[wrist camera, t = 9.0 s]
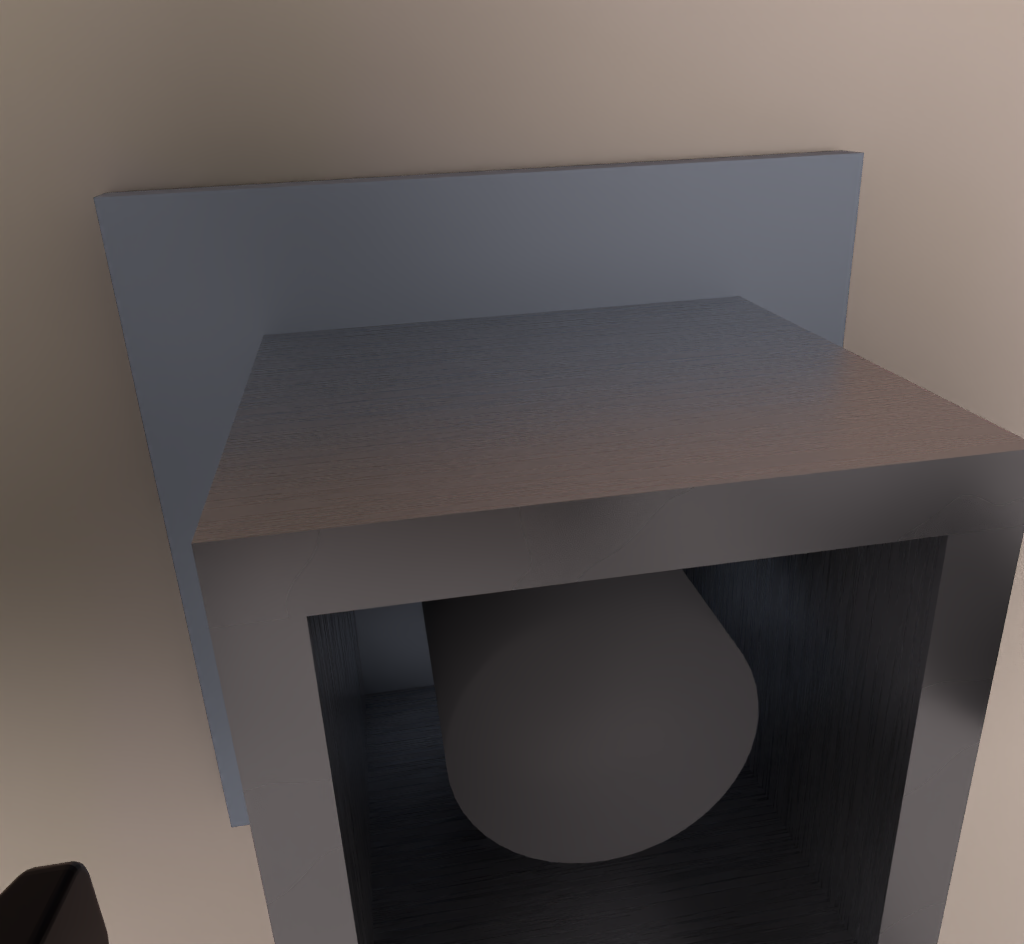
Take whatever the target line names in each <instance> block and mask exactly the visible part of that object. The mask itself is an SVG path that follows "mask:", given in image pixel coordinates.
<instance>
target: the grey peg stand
mask: <svg viewBox="0 0 1024 944" xmlns="http://www.w3.org/2000/svg"><path fill="white" fill-rule="evenodd" d="M863 157H864V153H861V152H851V151H842V150H841V151H824V152H807V153H789V154H772V155H754V156H737V157H720V158H702V159H685V160H667V161H650V162H633V163H615V164H598V165H580V166H563V167H546V168H528V169H511V170H493V171H476V172H459V173H441V174H424V175H406V176H389V177H372V178H354V179H337V180H319V181H302V182H285V183H267V184H250V185H232V186H215V187H198V188H180V189H163V190H145V191H128V192H111V193H104V194H101V195H99V196H96V197H94V202H95V207H96V212H97V216H98V221H99V225H100V230H101V234H102V239H103V243H104V248H105V253H106V257H107V262H108V266H109V271H110V275H111V280H112V285H113V289H114V294H115V298H116V303H117V307H118V312H119V316H120V321H121V326H122V330H123V335H124V339H125V344H126V348H127V353H128V357H129V362H130V367H131V371H132V376H133V380H134V385H135V389H136V394H137V398H138V403H139V408H140V412H141V417H142V421H143V426H144V430H145V435H146V439H147V444H148V449H149V453H150V458H151V462H152V467H153V471H154V476H155V481H156V485H157V490H158V494H159V499H160V503H161V508H162V512H163V517H164V522H165V526H166V531H167V535H168V540H169V544H170V549H171V553H172V558H173V563H174V567H175V572H176V576H177V581H178V585H179V590H180V594H181V599H182V604H183V608H184V613H185V617H186V622H187V626H188V631H189V635H190V640H191V645H192V649H193V654H194V658H195V663H196V667H197V672H198V677H199V681H200V686H201V690H202V695H203V699H204V704H205V708H206V713H207V718H208V722H209V727H210V731H211V736H212V740H213V745H214V749H215V754H216V759H217V763H218V768H219V772H220V777H221V781H222V786H223V790H224V795H225V800H226V804H227V809H228V813H229V818H230V822H231V827H237V826H243V825H249V824H250V822H249V817H248V813H247V808H246V803H245V798H244V794H243V789H242V784H241V779H240V774H239V770H238V765H237V760H236V755H235V751H234V746H233V741H232V736H231V731H230V727H229V722H228V717H227V712H226V708H225V703H224V698H223V693H222V688H221V684H220V679H219V674H218V669H217V665H216V660H215V655H214V650H213V645H212V641H211V636H210V631H209V626H208V622H207V617H206V612H205V607H204V602H203V598H202V593H201V588H200V583H199V579H198V574H197V569H196V564H195V559H194V555H193V550H192V545H191V543H192V540H193V537H194V534H195V531H196V528H197V525H198V523H199V520H200V517H201V514H202V511H203V508H204V505H205V502H206V499H207V497H208V494H209V491H210V488H211V485H212V482H213V479H214V476H215V474H216V471H217V468H218V465H219V462H220V459H221V456H222V453H223V450H224V448H225V445H226V442H227V439H228V436H229V433H230V430H231V427H232V424H233V422H234V419H235V416H236V413H237V410H238V407H239V404H240V401H241V398H242V396H243V393H244V390H245V387H246V384H247V381H248V378H249V375H250V373H251V370H252V367H253V364H254V361H255V358H256V355H257V352H258V349H259V347H260V344H261V341H262V338H263V335H270V334H282V333H294V332H306V331H319V330H331V329H343V328H355V327H367V326H380V325H392V324H404V323H416V322H429V321H441V320H453V319H465V318H477V317H490V316H502V315H514V314H526V313H539V312H551V311H563V310H575V309H587V308H600V307H612V306H624V305H636V304H649V303H661V302H673V301H685V300H697V299H710V298H722V297H734V296H740V297H742V298H744V299H746V300H748V301H750V302H752V303H754V304H756V305H758V306H760V307H762V308H764V309H766V310H768V311H770V312H772V313H774V314H776V315H778V316H780V317H782V318H784V319H786V320H788V321H790V322H792V323H794V324H796V325H798V326H800V327H802V328H804V329H806V330H808V331H810V332H812V333H814V334H816V335H818V336H820V337H822V338H824V339H826V340H828V341H830V342H832V343H834V344H836V345H838V346H840V347H842V348H843V340H844V330H845V321H846V312H847V303H848V294H849V285H850V276H851V267H852V258H853V248H854V239H855V230H856V221H857V212H858V203H859V194H860V185H861V176H862V166H863ZM354 612H355V619H356V627H357V635H358V642H359V650H360V657H361V665H362V673H363V680H364V688H365V695H366V694H373V693H380V692H387V691H395V690H402V689H409V688H416V687H423V686H430V685H434V687H435V694H436V700H437V707H438V714H439V720H440V727H441V733H442V740H443V747H444V753H445V760H446V766H447V772H448V778H449V783H450V786H451V788H452V791H453V794H454V797H455V799H456V801H457V802H458V804H459V806H460V808H461V809H462V811H463V813H464V814H465V815H466V816H467V818H468V819H469V820H470V821H471V823H472V824H473V825H474V826H475V827H476V828H478V829H479V830H480V831H481V832H482V833H483V834H484V835H485V836H487V837H488V838H490V839H491V840H493V841H494V842H496V843H497V844H499V845H501V846H503V847H505V848H507V849H509V850H511V851H513V852H515V853H518V854H521V855H524V856H527V857H530V858H534V859H539V860H544V861H549V862H560V863H590V862H598V861H606V860H611V859H615V858H620V857H624V856H628V855H631V854H634V853H637V852H640V851H643V850H645V849H648V848H650V847H652V846H655V845H657V844H659V843H662V842H663V841H665V840H667V839H669V838H671V837H673V836H674V835H676V834H678V833H680V832H681V831H683V830H684V829H686V828H687V827H688V826H690V825H691V824H693V823H694V822H696V821H697V820H698V819H699V818H700V817H702V816H703V815H704V814H705V813H706V812H708V811H709V810H710V809H711V808H712V807H713V806H714V805H715V804H716V803H717V802H718V801H719V800H720V799H721V798H722V796H723V795H724V794H725V793H726V791H727V790H728V789H729V788H730V786H731V785H732V784H733V782H734V781H735V779H736V778H737V776H738V774H739V773H740V771H741V770H742V768H743V766H744V764H745V762H746V760H747V757H748V755H749V753H750V751H751V748H752V745H753V741H754V738H755V735H756V729H757V723H758V695H757V689H756V684H755V681H754V678H753V674H752V671H751V669H750V667H749V665H748V663H747V661H746V659H745V657H744V656H743V654H742V653H741V651H740V650H739V648H738V647H737V646H736V644H735V643H734V641H733V640H732V639H731V637H730V636H729V634H728V633H727V632H726V630H725V629H724V627H723V626H722V625H721V623H720V622H719V620H718V619H717V618H716V616H715V615H714V613H713V612H712V611H711V609H710V608H709V606H708V605H707V604H706V602H705V601H704V599H703V598H702V597H701V595H700V594H699V592H698V591H697V590H696V588H695V587H694V585H693V584H692V583H691V581H690V580H689V578H688V577H687V576H686V574H685V573H684V571H683V570H682V569H676V570H668V571H661V572H653V573H645V574H637V575H629V576H621V577H613V578H605V579H597V580H589V581H581V582H573V583H566V584H558V585H550V586H542V587H534V588H526V589H518V590H510V591H502V592H494V593H486V594H478V595H471V596H463V597H455V598H447V599H439V600H431V601H423V602H415V603H407V604H399V605H391V606H383V607H376V608H368V609H360V610H354Z"/></svg>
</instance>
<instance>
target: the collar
mask: <svg viewBox="0 0 1024 944" xmlns="http://www.w3.org/2000/svg"><path fill="white" fill-rule="evenodd" d="M1023 533H1024V439H1023V438H1021V437H1019V436H1017V435H1015V434H1013V433H1011V432H1009V431H1007V430H1005V429H1003V428H1001V427H999V426H997V425H995V424H993V423H991V422H989V421H987V420H985V419H983V418H981V417H979V416H977V415H975V414H973V413H971V412H969V411H967V410H965V409H963V408H961V407H959V406H957V405H956V404H954V403H952V402H950V401H948V400H946V399H944V398H942V397H940V396H938V395H936V394H934V393H932V392H930V391H928V390H926V389H924V388H922V387H920V386H918V385H916V384H914V383H912V382H910V381H908V380H906V379H904V378H902V377H900V376H898V375H896V374H894V373H892V372H890V371H888V370H886V369H884V368H882V367H880V366H878V365H876V364H874V363H872V362H870V361H868V360H866V359H864V358H862V357H860V356H858V355H856V354H854V353H852V352H850V351H848V350H846V349H844V348H842V347H840V346H838V345H836V344H834V343H832V342H830V341H828V340H826V339H824V338H822V337H820V336H818V335H816V334H814V333H812V332H810V331H808V330H806V329H804V328H802V327H800V326H798V325H796V324H794V323H792V322H790V321H788V320H786V319H784V318H782V317H780V316H778V315H776V314H774V313H772V312H770V311H768V310H766V309H764V308H762V307H760V306H758V305H756V304H754V303H752V302H750V301H748V300H746V299H744V298H742V297H740V296H734V297H722V298H710V299H697V300H685V301H673V302H661V303H649V304H636V305H624V306H612V307H600V308H587V309H575V310H563V311H551V312H539V313H526V314H514V315H502V316H490V317H477V318H465V319H453V320H441V321H429V322H416V323H404V324H392V325H380V326H367V327H355V328H343V329H331V330H319V331H306V332H294V333H282V334H270V335H263V338H262V341H261V344H260V347H259V349H258V352H257V355H256V358H255V361H254V364H253V367H252V370H251V373H250V375H249V378H248V381H247V384H246V387H245V390H244V393H243V396H242V398H241V401H240V404H239V407H238V410H237V413H236V416H235V419H234V422H233V424H232V427H231V430H230V433H229V436H228V439H227V442H226V445H225V448H224V450H223V453H222V456H221V459H220V462H219V465H218V468H217V471H216V474H215V476H214V479H213V482H212V485H211V488H210V491H209V494H208V497H207V499H206V502H205V505H204V508H203V511H202V514H201V517H200V520H199V523H198V525H197V528H196V531H195V534H194V537H193V540H192V543H191V545H192V550H193V555H194V559H195V564H196V569H197V574H198V579H199V583H200V588H201V593H202V598H203V602H204V607H205V612H206V617H207V622H208V626H209V631H210V636H211V641H212V645H213V650H214V655H215V660H216V665H217V669H218V674H219V679H220V684H221V688H222V693H223V698H224V703H225V708H226V712H227V717H228V722H229V727H230V731H231V736H232V741H233V746H234V751H235V755H236V760H237V765H238V770H239V774H240V779H241V784H242V789H243V794H244V798H245V803H246V808H247V813H248V817H249V822H250V827H251V832H252V837H253V841H254V846H255V851H256V856H257V860H258V865H259V870H260V875H261V880H262V884H263V889H264V894H265V899H266V903H267V908H268V913H269V918H270V923H271V927H272V932H273V937H274V942H275V944H937V942H938V938H939V933H940V928H941V923H942V919H943V914H944V909H945V904H946V900H947V895H948V890H949V885H950V880H951V876H952V871H953V866H954V861H955V857H956V852H957V847H958V842H959V838H960V833H961V828H962V823H963V819H964V814H965V809H966V804H967V800H968V795H969V790H970V785H971V780H972V776H973V771H974V766H975V761H976V757H977V752H978V747H979V742H980V738H981V733H982V728H983V723H984V719H985V714H986V709H987V704H988V700H989V695H990V690H991V685H992V680H993V676H994V671H995V666H996V661H997V657H998V652H999V647H1000V642H1001V638H1002V633H1003V628H1004V623H1005V619H1006V614H1007V609H1008V604H1009V600H1010V595H1011V590H1012V585H1013V580H1014V576H1015V571H1016V566H1017V561H1018V557H1019V552H1020V547H1021V542H1022V538H1023ZM676 569H682V570H683V571H684V573H685V574H686V576H687V577H688V578H689V580H690V581H691V583H692V584H693V585H694V587H695V588H696V590H697V591H698V592H699V594H700V595H701V597H702V598H703V599H704V601H705V602H706V604H707V605H708V606H709V608H710V609H711V611H712V612H713V613H714V615H715V616H716V618H717V619H718V620H719V622H720V623H721V625H722V626H723V627H724V629H725V630H726V632H727V633H728V634H729V636H730V637H731V639H732V640H733V641H734V643H735V644H736V646H737V647H738V648H739V650H740V651H741V653H742V654H743V656H744V657H745V659H746V661H747V663H748V665H749V667H750V669H751V671H752V674H753V678H754V681H755V684H756V689H757V695H758V723H757V729H756V735H755V738H754V741H753V745H752V748H751V751H750V753H749V755H748V757H747V760H746V762H745V764H744V766H743V768H742V770H741V771H740V773H739V774H738V776H737V778H736V779H735V781H734V782H733V784H732V785H731V786H730V788H729V789H728V790H727V791H726V793H725V794H724V795H723V796H722V798H721V799H720V800H719V801H718V802H717V803H716V804H715V805H714V806H713V807H712V808H711V809H710V810H709V811H708V812H706V813H705V814H704V815H703V816H702V817H700V818H699V819H698V820H697V821H696V822H694V823H693V824H691V825H690V826H688V827H687V828H686V829H684V830H683V831H681V832H680V833H678V834H676V835H674V836H673V837H671V838H669V839H667V840H665V841H663V842H662V843H659V844H657V845H655V846H652V847H650V848H648V849H645V850H643V851H640V852H637V853H634V854H631V855H628V856H624V857H620V858H615V859H611V860H606V861H598V862H590V863H560V862H549V861H544V860H539V859H534V858H530V857H527V856H524V855H521V854H518V853H515V852H513V851H511V850H509V849H507V848H505V847H503V846H501V845H499V844H497V843H496V842H494V841H493V840H491V839H490V838H488V837H487V836H485V835H484V834H483V833H482V832H481V831H480V830H479V829H478V828H476V827H475V826H474V825H473V824H472V823H471V821H470V820H469V819H468V818H467V816H466V815H465V814H464V813H463V811H462V809H461V808H460V806H459V804H458V802H457V801H456V799H455V797H454V794H453V791H452V788H451V786H450V783H449V778H448V772H447V766H446V760H445V753H444V747H443V740H442V733H441V727H440V720H439V714H438V707H437V700H436V694H435V687H434V685H430V686H423V687H416V688H409V689H402V690H395V691H387V692H380V693H373V694H366V695H365V688H364V680H363V673H362V665H361V657H360V650H359V642H358V635H357V627H356V619H355V612H354V610H360V609H368V608H376V607H383V606H391V605H399V604H407V603H415V602H423V601H431V600H439V599H447V598H455V597H463V596H471V595H478V594H486V593H494V592H502V591H510V590H518V589H526V588H534V587H542V586H550V585H558V584H566V583H573V582H581V581H589V580H597V579H605V578H613V577H621V576H629V575H637V574H645V573H653V572H661V571H668V570H676Z"/></svg>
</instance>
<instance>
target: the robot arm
mask: <svg viewBox="0 0 1024 944" xmlns="http://www.w3.org/2000/svg"><path fill="white" fill-rule="evenodd" d="M0 944H109V941H108V934H107V930H106V927H105V923H104V920H103V917H102V914H101V911H100V907H99V904H98V901H97V898H96V894H95V891H94V888H93V885H92V882H91V878H90V875H89V873H88V871H87V869H86V868H85V866H84V865H83V864H82V863H80V862H75V861H71V862H65V863H59V864H52V865H46V866H40V867H34V868H31V869H28V870H26V871H25V872H23V873H22V874H20V875H19V876H18V877H17V878H16V879H15V880H14V881H13V882H12V883H11V884H10V885H9V886H8V887H7V888H6V889H5V890H4V891H3V892H2V893H1V894H0Z"/></svg>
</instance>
